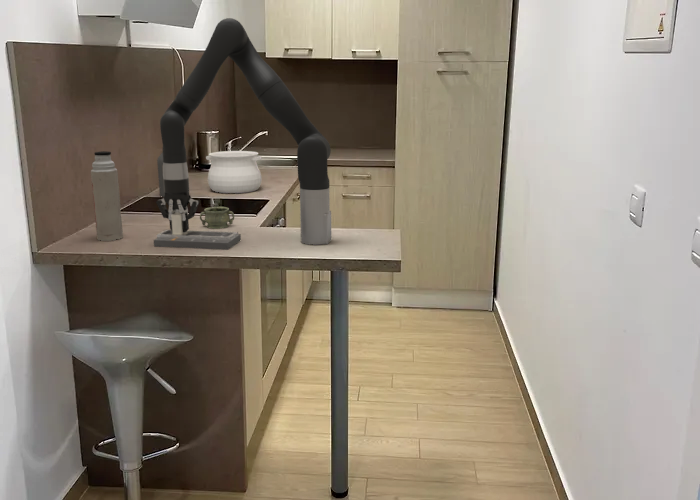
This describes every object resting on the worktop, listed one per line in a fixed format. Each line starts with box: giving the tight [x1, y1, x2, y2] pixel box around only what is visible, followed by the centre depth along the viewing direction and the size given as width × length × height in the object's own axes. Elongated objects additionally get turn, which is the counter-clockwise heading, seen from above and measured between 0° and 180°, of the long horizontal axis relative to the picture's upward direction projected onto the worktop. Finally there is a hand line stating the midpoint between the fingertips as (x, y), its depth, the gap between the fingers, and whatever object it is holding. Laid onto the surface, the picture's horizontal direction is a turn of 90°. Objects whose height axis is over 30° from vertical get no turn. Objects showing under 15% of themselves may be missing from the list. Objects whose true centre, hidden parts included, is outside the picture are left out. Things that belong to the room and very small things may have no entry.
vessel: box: [199, 206, 235, 230], centre depth 239 cm, size 12×9×6 cm
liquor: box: [156, 151, 165, 198], centre depth 295 cm, size 9×9×30 cm
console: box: [153, 229, 242, 250], centre depth 215 cm, size 24×12×3 cm, turn 80°
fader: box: [171, 212, 188, 235], centre depth 215 cm, size 3×5×7 cm, turn 170°
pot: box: [205, 150, 263, 194], centre depth 314 cm, size 26×24×17 cm
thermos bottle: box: [90, 151, 124, 242], centre depth 219 cm, size 8×8×28 cm
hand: (179, 231), depth 216 cm, fingers closed on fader, 3 cm apart
